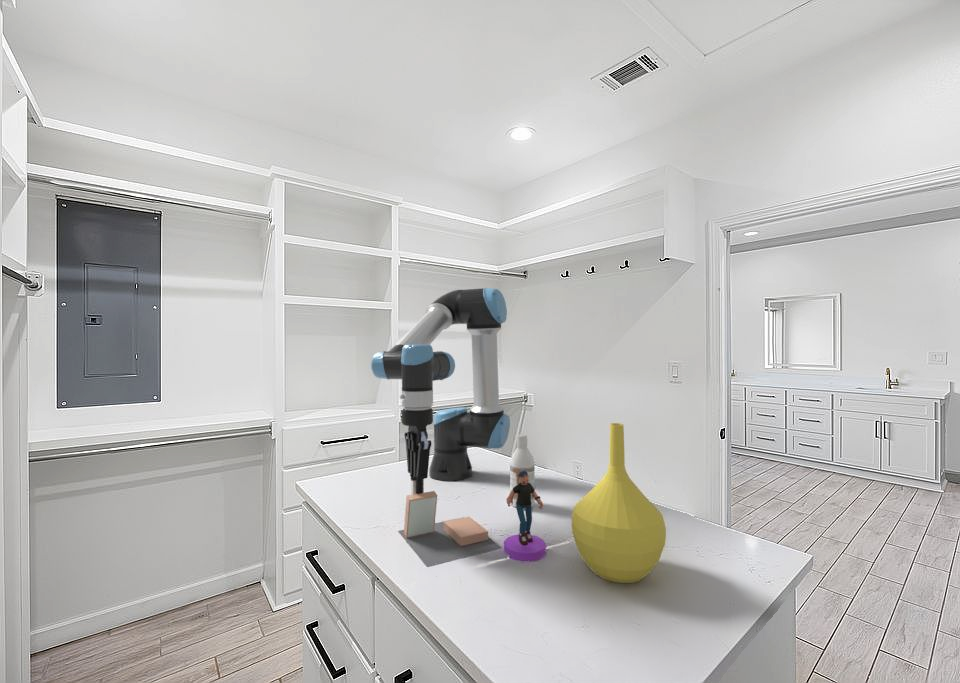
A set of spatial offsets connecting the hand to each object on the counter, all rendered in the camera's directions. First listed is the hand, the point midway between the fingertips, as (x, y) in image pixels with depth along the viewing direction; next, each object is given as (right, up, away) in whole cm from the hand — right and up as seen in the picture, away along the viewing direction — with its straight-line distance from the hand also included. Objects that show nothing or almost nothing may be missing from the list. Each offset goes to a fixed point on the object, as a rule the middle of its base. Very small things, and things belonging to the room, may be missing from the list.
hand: (417, 505), depth 109 cm
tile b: (0, -7, 0) cm, 7 cm away
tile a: (+9, -6, +3) cm, 11 cm away
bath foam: (+27, -7, +20) cm, 34 cm away
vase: (+43, -7, -17) cm, 47 cm away
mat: (+8, -7, -3) cm, 11 cm away
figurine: (+25, -7, -9) cm, 28 cm away
